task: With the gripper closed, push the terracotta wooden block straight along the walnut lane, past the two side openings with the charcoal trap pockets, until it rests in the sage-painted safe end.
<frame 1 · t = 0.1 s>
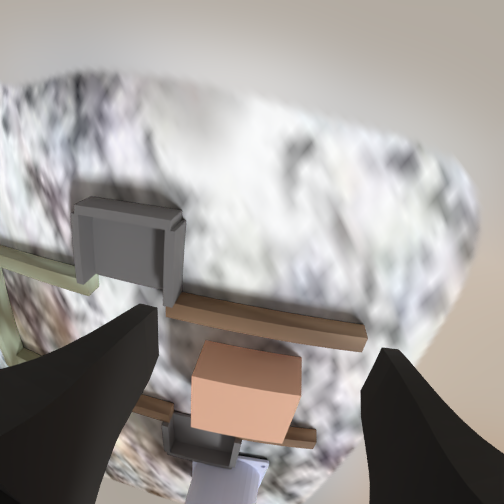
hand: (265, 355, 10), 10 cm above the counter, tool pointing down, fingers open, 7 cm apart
lane: (149, 355, 24), on the counter
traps: (149, 355, 24), on the counter
block: (248, 375, 24), on the counter
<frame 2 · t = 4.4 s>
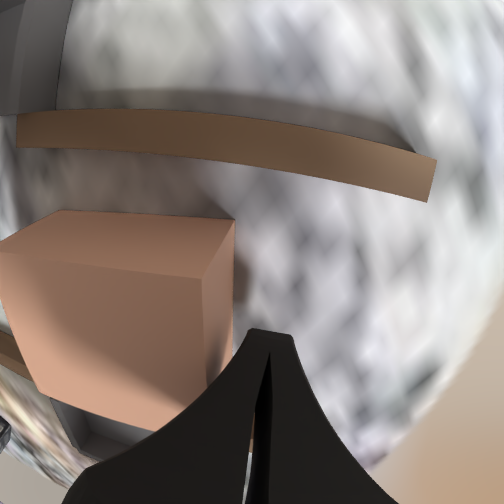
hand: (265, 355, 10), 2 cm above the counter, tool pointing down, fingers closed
lane: (21, 261, 12), on the counter
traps: (21, 261, 12), on the counter
block: (142, 290, 12), on the counter, touching gripper
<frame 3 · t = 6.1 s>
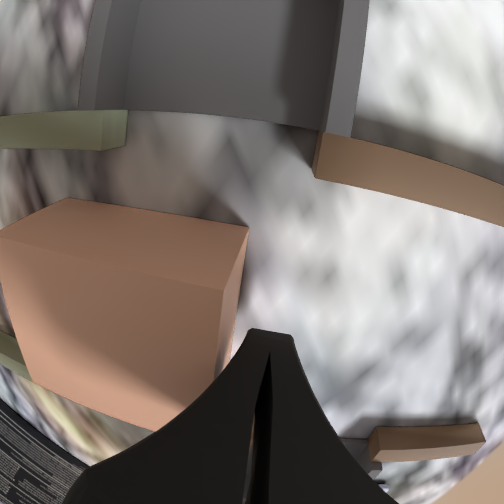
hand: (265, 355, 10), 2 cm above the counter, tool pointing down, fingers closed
lane: (225, 313, 12), on the counter
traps: (225, 313, 12), on the counter
block: (145, 287, 12), on the counter, touching gripper
small box: (40, 441, 21), on the counter
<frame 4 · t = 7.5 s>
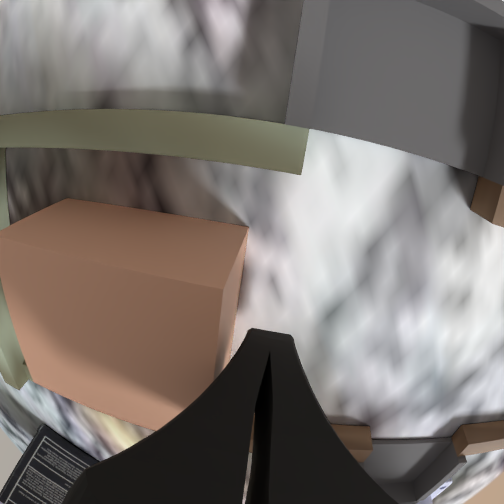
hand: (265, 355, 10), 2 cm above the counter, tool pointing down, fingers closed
lane: (373, 337, 11), on the counter
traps: (373, 337, 11), on the counter
block: (145, 286, 12), on the counter, touching gripper
small box: (89, 465, 20), on the counter
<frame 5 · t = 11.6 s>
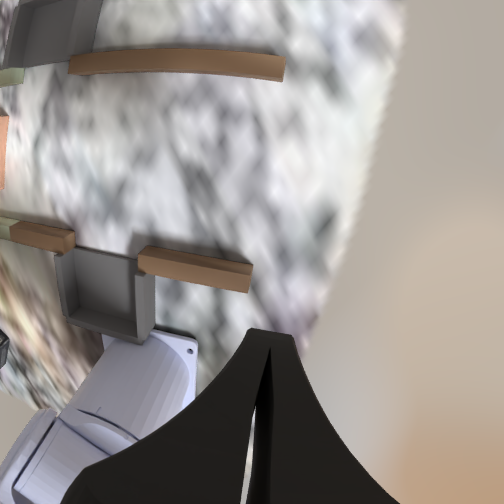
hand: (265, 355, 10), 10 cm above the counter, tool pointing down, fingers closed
lane: (53, 154, 19), on the counter
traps: (53, 154, 19), on the counter
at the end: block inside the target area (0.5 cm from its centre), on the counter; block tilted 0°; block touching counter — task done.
